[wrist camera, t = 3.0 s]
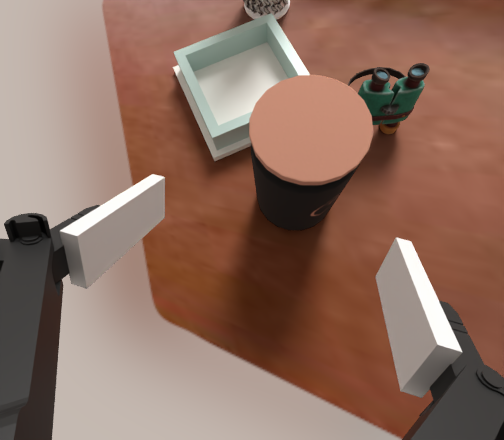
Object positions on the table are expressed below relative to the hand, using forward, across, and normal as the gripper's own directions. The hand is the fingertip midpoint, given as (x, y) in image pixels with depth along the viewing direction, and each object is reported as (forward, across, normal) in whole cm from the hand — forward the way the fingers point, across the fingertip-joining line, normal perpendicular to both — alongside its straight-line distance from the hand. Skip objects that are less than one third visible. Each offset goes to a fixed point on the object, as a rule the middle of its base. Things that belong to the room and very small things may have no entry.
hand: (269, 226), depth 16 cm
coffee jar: (+25, +1, -9) cm, 26 cm away
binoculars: (+37, +9, +3) cm, 38 cm away
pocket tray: (+36, -11, +2) cm, 38 cm away
